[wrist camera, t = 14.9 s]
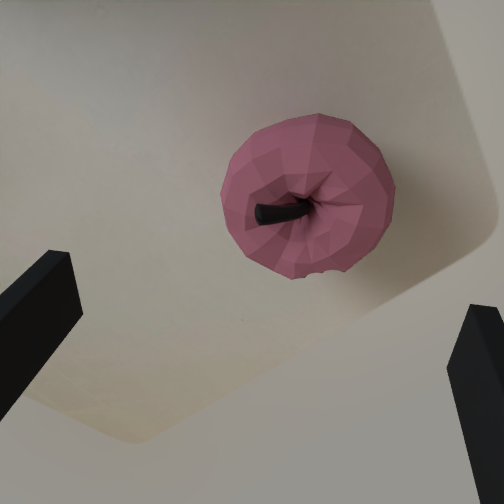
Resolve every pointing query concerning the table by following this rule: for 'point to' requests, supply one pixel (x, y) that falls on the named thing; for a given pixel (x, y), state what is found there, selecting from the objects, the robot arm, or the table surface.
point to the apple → (308, 196)
